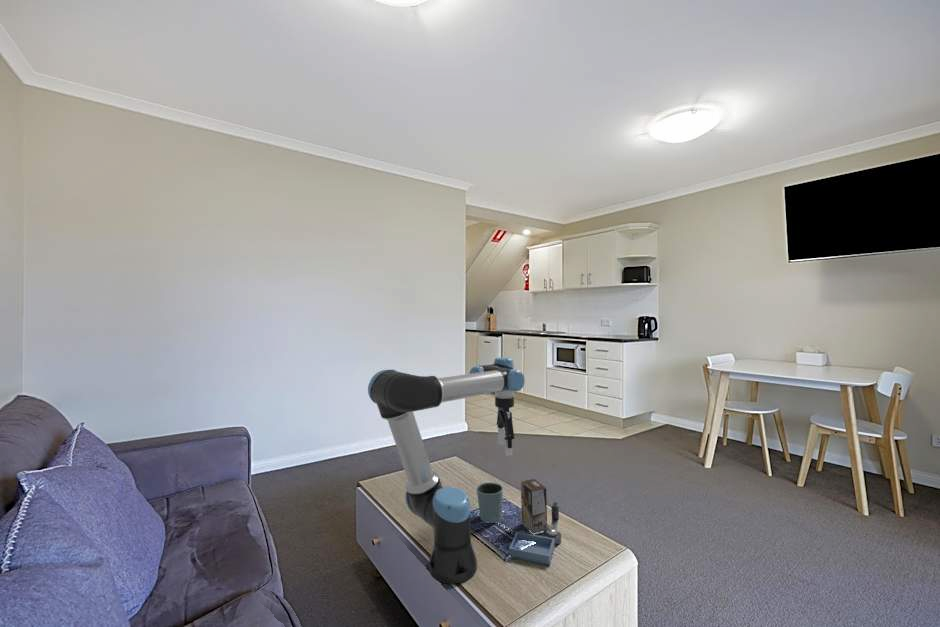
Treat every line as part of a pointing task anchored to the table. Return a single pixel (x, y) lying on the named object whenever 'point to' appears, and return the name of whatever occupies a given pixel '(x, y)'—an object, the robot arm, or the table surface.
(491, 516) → the green cup
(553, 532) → the crank
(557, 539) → the crank base
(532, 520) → the coffee box
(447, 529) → the robot arm
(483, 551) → the table surface
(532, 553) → the tray
